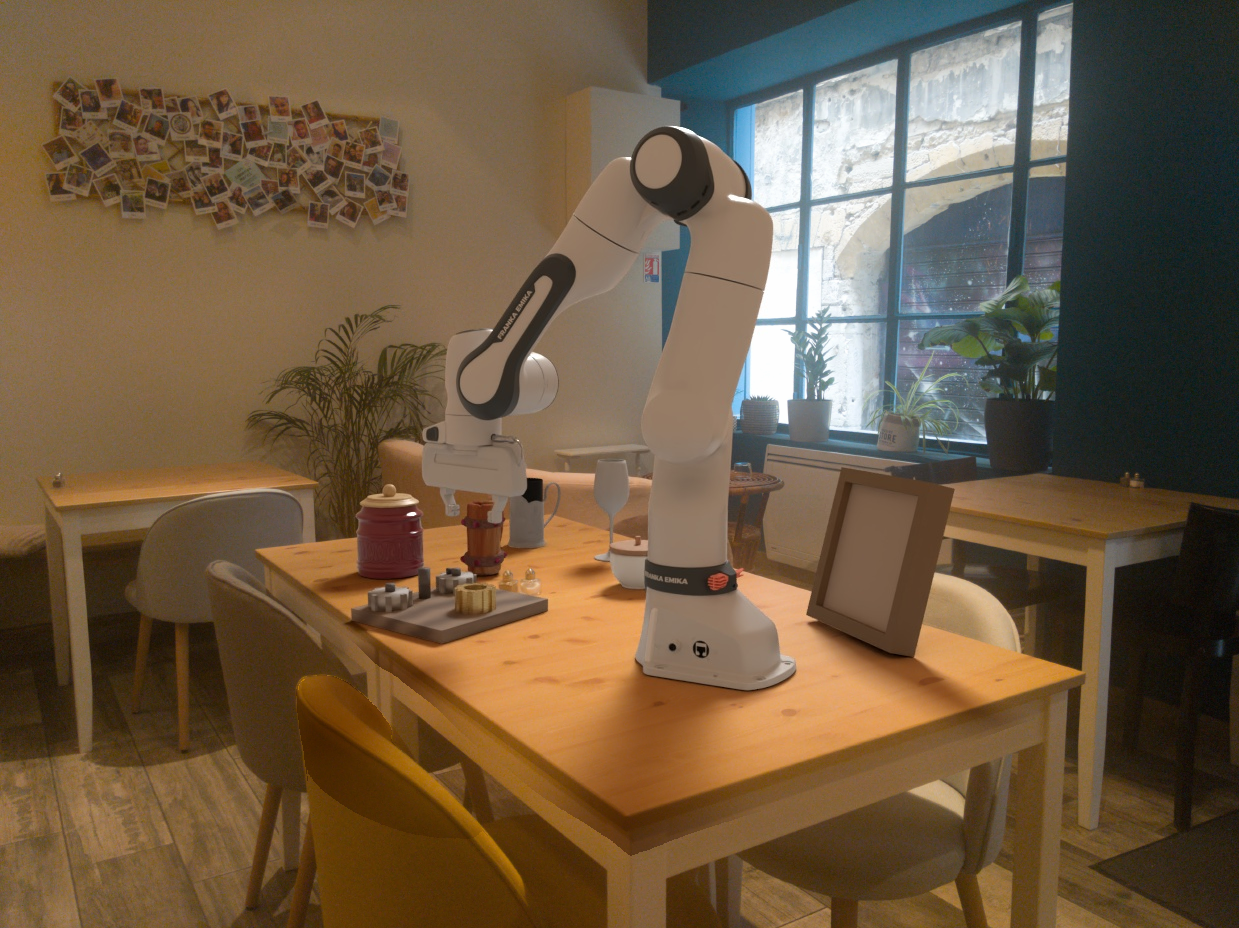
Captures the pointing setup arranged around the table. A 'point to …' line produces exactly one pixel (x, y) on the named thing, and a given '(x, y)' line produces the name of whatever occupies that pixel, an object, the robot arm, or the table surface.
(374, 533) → the canister
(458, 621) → the gear board
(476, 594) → the brass gear
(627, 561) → the lidded jar
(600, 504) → the wineglass
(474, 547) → the mug
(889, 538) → the photo frame
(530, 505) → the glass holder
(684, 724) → the table surface
